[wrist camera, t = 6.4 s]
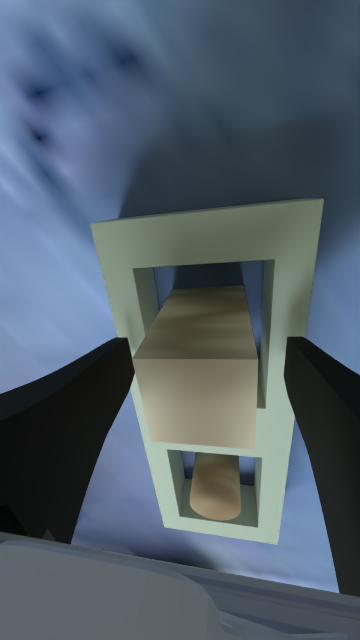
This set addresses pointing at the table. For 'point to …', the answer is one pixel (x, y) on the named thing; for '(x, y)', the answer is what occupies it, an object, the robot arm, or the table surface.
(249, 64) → the table surface
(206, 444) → the maple peg
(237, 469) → the tan cylinder
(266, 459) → the green board with holes
